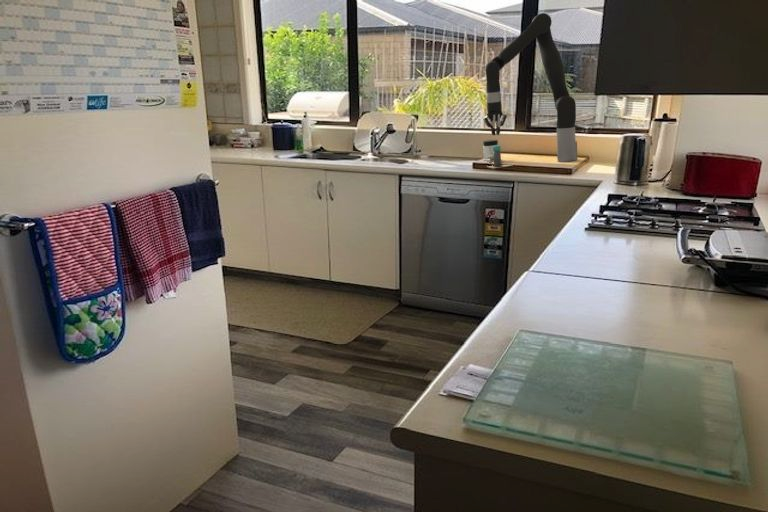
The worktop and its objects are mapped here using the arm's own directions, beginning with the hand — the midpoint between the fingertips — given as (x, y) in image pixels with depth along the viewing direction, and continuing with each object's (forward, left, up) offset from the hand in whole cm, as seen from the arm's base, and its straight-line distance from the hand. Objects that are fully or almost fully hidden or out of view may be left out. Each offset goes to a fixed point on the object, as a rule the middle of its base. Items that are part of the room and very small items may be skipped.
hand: (495, 134), depth 313 cm
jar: (-7, -22, -17) cm, 29 cm away
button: (-3, -11, -15) cm, 19 cm away
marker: (0, 0, -17) cm, 17 cm away
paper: (-2, -1, -17) cm, 17 cm away
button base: (-2, -11, -17) cm, 20 cm away
